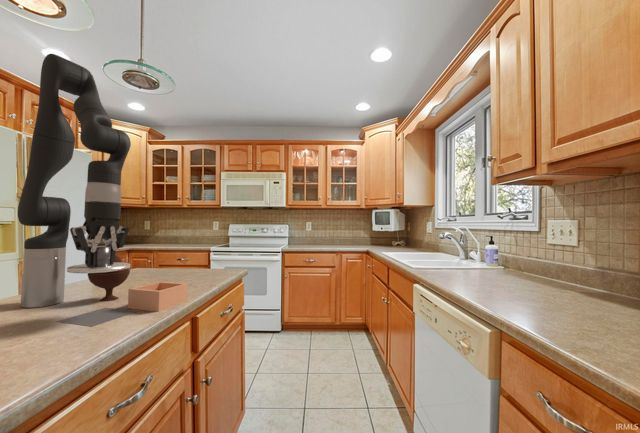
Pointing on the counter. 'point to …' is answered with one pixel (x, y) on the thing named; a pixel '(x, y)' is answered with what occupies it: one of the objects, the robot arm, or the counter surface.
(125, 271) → the ice cream bowl
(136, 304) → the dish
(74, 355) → the counter surface
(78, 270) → the lid
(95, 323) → the mat
